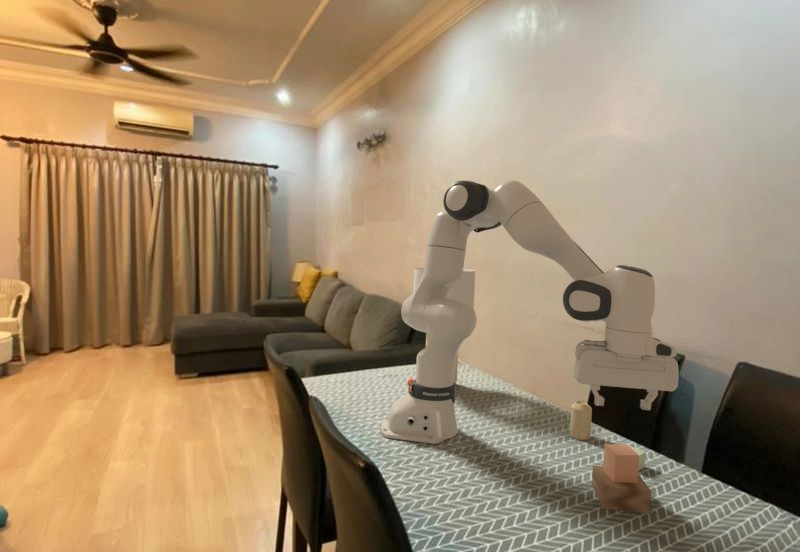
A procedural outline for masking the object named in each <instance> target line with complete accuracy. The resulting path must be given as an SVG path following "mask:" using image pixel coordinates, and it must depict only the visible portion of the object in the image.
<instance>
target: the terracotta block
mask: <svg viewBox="0 0 800 552" xmlns="http://www.w3.org/2000/svg"><path fill="white" fill-rule="evenodd" d="M629 446H630V445H629ZM629 446H628V444H626V445H625V444H622V443H621V444H617V443H616V444H614V443H613V444H611V443H610V444H608V443H605V444H604V450H603V464H602V465H603V466H602V467H603V471H604V472H605V473H606V474H607V475H608V476H609V477H610V478H611V480H612V481H613V482H625V483H637V481H638V474H639V471H638V466H639V455H638V454H637V453H636V452H635V451H634V450H633V449H631V448H630V447H629Z"/></svg>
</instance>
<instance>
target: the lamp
mask: <svg viewBox="0 0 800 552" xmlns="http://www.w3.org/2000/svg"><path fill="white" fill-rule="evenodd" d="M413 270H414V271H413V272H414V273H413V292H414V291H415V289H416V288H417V286H418V284H419V281H420V279H421V277H422V274H423V270H424V267H415V268H414V269H413ZM475 286H476V270H475V269H471V268H463V274H462V277H461V279H460V280H459V281H458V282H457V283H455V284H453V285H452V287H451V288H450V290H449V292H448V294H447V297H446V298H449V299H456V300H459V301H461V302H464V303H466V304H468V305H470V306H471V307H472V308H473V309H474V307H475V291H476V290H475V289H476V288H475ZM428 341H429V333H425V347H426V346H427V344H428ZM458 362H459V351H458V352H457V355H456V361H455V374H454V382H455V383H457V381H458V364H459V363H458Z"/></svg>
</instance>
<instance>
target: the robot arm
mask: <svg viewBox="0 0 800 552" xmlns="http://www.w3.org/2000/svg"><path fill="white" fill-rule="evenodd" d="M442 200H443V207H444V210H441V211H439V212H437V213H436V214H435V216H434V219H433V221H432V224H431V227H430V231H429V236H428V240H427V246H426V253H425V259H424V265H423V268H424V270H423V274H422V277H421V279H420V281H419V284H418V286H417V288H416V289H415V291H414V290H413V292H412V294H410V296H408V297H407V298H406V299H404V301H403V303H402V304H401V305H402V306H401V310H400V312H401V313H400V315H401V319H402V321H403V322H404V323H405V324H406V325H407V326H409V327H410V328H412V329H413V330H416V331H419V332H422V333H425V334H426V333H429V341H428V344H427V346H426V345H425V347H424V348H422V349H421V350H419V352H418V353H417V355H416V366H415V367H416V368H415V370H416V371H415V379H413V378H411V377H410V378H408V380H407V386H408V393H406V394H405V395H403V396H402V397H401V398H399V399H398V400H396V401H395V402H394V403H392V406H391V407H390V410H389V412H388V416H385V417H384V418H383V419H382V421H381V423H380V430H379V431H380V434H381V435H382V436H383V437H384V438H386V439H387V438H389V439H395V440H402V441H403V440H404V441H410V442H417V443H418V442H419V443H426V444H433V445H437V444H439V443H441V442H442V441H446V440H448V439H451V438H454V437H455V436H456V435H458V433H459V428H458V424H457V419H456V412H455V411H456V409H455V402H456V397H457V394H456V393H457V387H456V382H454V374H455V361H456V355H457V352H458V353H459V348H460V347H461V345H462V343H463V342H464V341H465V340H466V339H467V338H469V337H470V336H471V335H472V334H473V333H474V331H475V330H476V327H477V321H478V320H477V313H476V311H475V310H474V309H473V308H472V307H471V306H470V305H468V304H466V303H464V302H461V301H459V300H456V299H449V298H446V297H447V294H448V292H449V290H450V288H451V287H452V285H453V284H455V283H457V282H458V281H459V280H460V279H461V277H462V274H463V269H464V266H465V258H466V250H467V243H468V239H469V238H468V237H469V236H470V234H471V233H472V232H473V231H474V232H475V233H480V232H484V231H488V230H489V231H490V230H494V229H497V228H498V227H500V226H503V228H504V229H505V230H506V232H507V233H508V235H509V236H510V238H512V240H513V241H514V242H516V244H518V246H520V247H521V248H522V249H523V250H525V251H528V252H531V253H535V254H537V255H541V256H543V257H545V258H548V259H550V260H552V261H554V262H556V263H557V264H558V265H560V266H561V267H562V268H563V270H565V271H566V273H567V274H568V275H569V276H570V277H571V278H572V279H573V281H572V282H571V283H569V284H568V285H567V286H566V288H565V289H564V292H563V295H562V304H563V307H564V310H565V312H566V313H567V315H569V317H571V318H572V319H574V320H576V321H580V322H584V323H585V322H586V323H589V322H599V321H600V322H601V321H603V322H604V324H605V329H604V331H605V332H604V340H590V339H584V340H583V341H580V342H579V343H578V344H577V345H576V346H575V363H574V367H573V378H574V379H575V380H576V381H577V383H579V384H581V385H589V388H590V390H591V393H592V394H593V396H594V399H593V400H594V405H595V406H597V407H598V406H599V407H604V406H605V400H606V399H605V398H604V397H603V396H602V395H600V394H599V391H601V386H602V387H615V388H616V387H617V388H626V389H637V390H639V389H640V390H646V392H647V395H646V397H645V398H644V399H640V401H639V403H640V404H639V408H640V409H641V410H643V411H651V409H652V403H653V402H654V401H655V399H656V398H657V397H658V395H659V391H661V392H665V391H666V392H675V390H677V388H678V386H679V377H680V376H679V375H680V374H679V365H678V360H676V359H675V357H676V356H677V352H678V349H677V348H676V346H673V345H671V344H669V343H667V342H664V341H661V339H658V338H656V337H653V327H652V326H653V325H652V317H653V315H654V313H655V305H656V304H655V303H656V285H655V279H654V276H653V274H651V272H650V271H648V270H646V269H644V268H643V269H642V268H639V267H636V266H635V267H634V266H629V265H624V264H621V265H615V266H612V268H610V269H609V270H607V271H605V272H604V271H603V270H602V269H601V268H600V267H599V265H597V264H596V263H595V261H593V260H592V259H591V257H590V256H589V255H588V254H587V253H586V252H585V251H584V250H583V249H582V248H581V246H580V245H579V244H577V243H576V241H574V239H572V237H571V236H570V234H569V233H568V232H567V231H566V230H565V229H564V228H563V227H562V226H561V224H560V223H559V222H558V221H557V219H556V218H555V216H554V215H553V214H552V213H551V212H550V210H549V209H548V208H547V206H546V205H545V204H544V203H543V202H542V200H541V199H540V198H539V197H538V196H537V195H536V194H535V193H534V192H533V191H531V190H530V188H528V187H527V186H526V185H525V184H524V183H522V182H520V181H518V180H514V179H513V180H512V179H511V180H507V181H505V182H502V183H501V184H499V185H498V186H497V187H495V188H494V189H490V188H489V187H487V185H485V184H482V183H478V182H475V181H472V180H458V181H455V182H453V183H451V185H449V186H448V187H447V189H446V190H445V192H444V194H443V199H442Z"/></svg>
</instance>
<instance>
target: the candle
mask: <svg viewBox="0 0 800 552" xmlns="http://www.w3.org/2000/svg"><path fill="white" fill-rule="evenodd" d="M592 410H593V408H592V406H590V405H589V404H588V403H587V402H586V401H584V400H577V401H575V402H574V403H572V404H571V405H570V422H569V423H570V424H569V436H570V437H572V438H573V439H576V440H579V441H588V440H590V439H591V433H592V432H591V431H592V419H593V418H592V414H593V411H592Z"/></svg>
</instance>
